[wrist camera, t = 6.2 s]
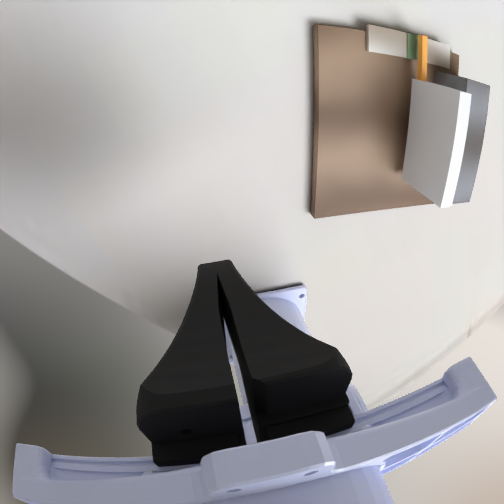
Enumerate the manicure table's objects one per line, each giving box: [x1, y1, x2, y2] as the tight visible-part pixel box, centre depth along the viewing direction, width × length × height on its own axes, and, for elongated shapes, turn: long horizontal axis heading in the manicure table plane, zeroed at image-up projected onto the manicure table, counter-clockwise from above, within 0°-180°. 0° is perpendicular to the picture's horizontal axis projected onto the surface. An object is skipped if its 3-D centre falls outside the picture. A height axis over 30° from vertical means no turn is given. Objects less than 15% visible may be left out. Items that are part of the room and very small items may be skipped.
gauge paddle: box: [401, 35, 472, 208], centre depth 16 cm, size 12×1×5 cm, turn 3°
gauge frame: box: [311, 24, 490, 219], centre depth 19 cm, size 14×13×4 cm
